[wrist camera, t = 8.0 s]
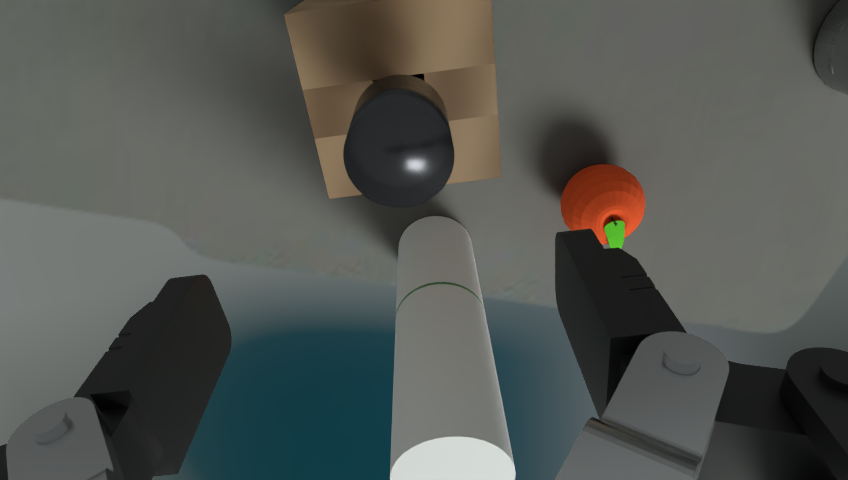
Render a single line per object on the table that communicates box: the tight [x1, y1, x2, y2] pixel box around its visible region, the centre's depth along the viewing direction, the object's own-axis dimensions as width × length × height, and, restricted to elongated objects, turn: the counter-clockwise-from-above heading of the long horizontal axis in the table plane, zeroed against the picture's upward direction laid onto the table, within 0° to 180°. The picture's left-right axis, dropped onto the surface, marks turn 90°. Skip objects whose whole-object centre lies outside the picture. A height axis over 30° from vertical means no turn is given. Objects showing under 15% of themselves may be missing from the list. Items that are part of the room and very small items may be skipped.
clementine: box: [561, 164, 645, 249], centre depth 46 cm, size 8×7×7 cm
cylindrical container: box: [390, 216, 515, 480], centre depth 41 cm, size 7×7×25 cm
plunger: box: [343, 73, 455, 207], centre depth 29 cm, size 7×7×24 cm
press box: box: [284, 0, 502, 199], centre depth 33 cm, size 12×12×19 cm
